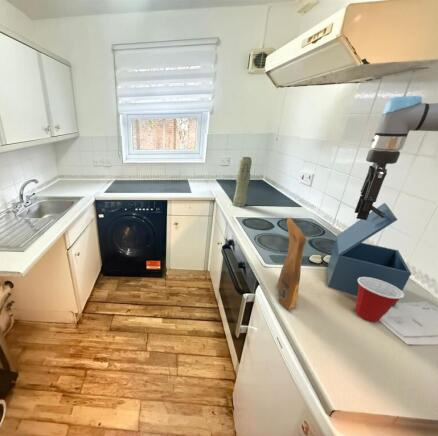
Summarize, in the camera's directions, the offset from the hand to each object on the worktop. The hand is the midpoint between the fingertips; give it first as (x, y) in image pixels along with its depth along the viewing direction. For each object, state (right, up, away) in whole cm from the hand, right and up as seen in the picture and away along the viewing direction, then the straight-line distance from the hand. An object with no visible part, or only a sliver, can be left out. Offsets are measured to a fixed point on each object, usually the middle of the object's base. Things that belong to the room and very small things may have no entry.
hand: (360, 215), depth 86 cm
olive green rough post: (-8, +9, +92) cm, 93 cm away
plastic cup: (-5, -33, -7) cm, 34 cm away
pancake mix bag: (-27, -29, +1) cm, 40 cm away
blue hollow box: (+5, -26, +7) cm, 28 cm away
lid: (+2, -5, +1) cm, 5 cm away
